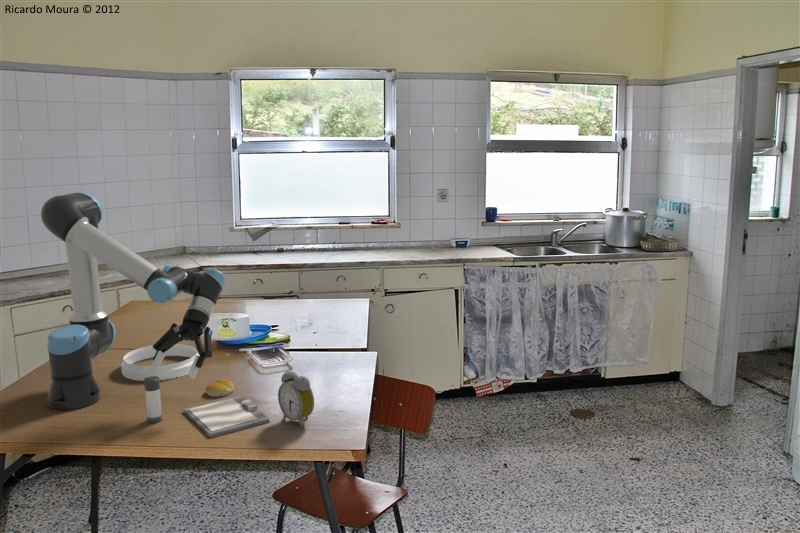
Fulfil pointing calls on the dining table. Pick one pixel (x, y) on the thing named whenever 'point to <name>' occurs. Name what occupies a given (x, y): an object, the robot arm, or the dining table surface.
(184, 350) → the white hollow ring
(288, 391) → the alarm clock
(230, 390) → the bread roll
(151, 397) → the white grey cylinder
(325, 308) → the dining table surface
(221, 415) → the clipboard
